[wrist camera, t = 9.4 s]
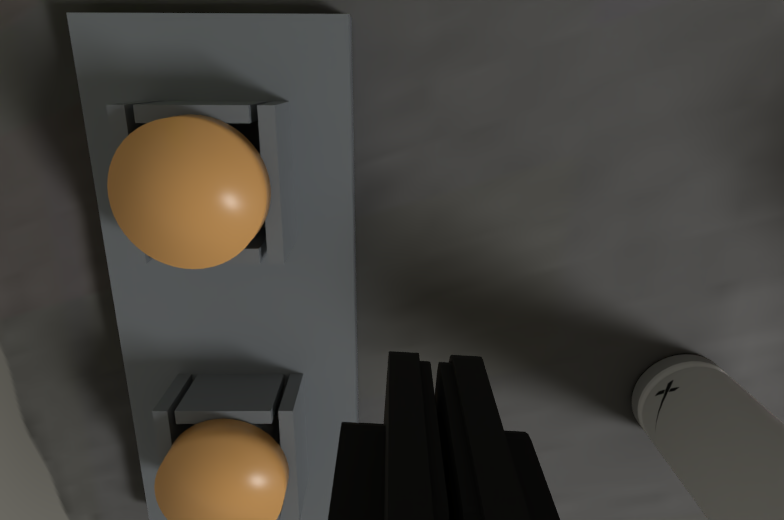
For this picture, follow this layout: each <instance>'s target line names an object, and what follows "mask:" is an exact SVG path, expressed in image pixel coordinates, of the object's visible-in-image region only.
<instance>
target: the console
mask: <svg viewBox="0 0 784 520" xmlns="http://www.w3.org/2000/svg"><path fill="white" fill-rule="evenodd" d="M66 14H67V20H68V26H69V32H70V38H71V44H72V50H73V56H74V63H75V69H76V75H77V81H78V87H79V93H80V99H81V105H82V111H83V118H84V124H85V130H86V136H87V142H88V148H89V154H90V160H91V166H92V173H93V179H94V185H95V191H96V197H97V203H98V209H99V215H100V221H101V228H102V234H103V240H104V246H105V252H106V258H107V264H108V270H109V276H110V283H111V289H112V295H113V301H114V307H115V313H116V319H117V325H118V332H119V338H120V344H121V350H122V356H123V362H124V368H125V374H126V380H127V387H128V393H129V399H130V405H131V411H132V417H133V423H134V429H135V435H136V442H137V448H138V454H139V460H140V466H141V472H142V478H143V484H144V490H145V497H146V503H147V509H148V515H149V520H167V518H166V517H165V516H164V514H163V513H162V511H161V510H160V508H159V506H158V503H157V501H156V496H155V489H154V485H155V478H156V474H157V471H158V469H159V467H160V465H161V463H162V462H163V460H164V458H165V456H166V455H167V453H168V451H169V450H170V448H171V446H172V445H173V443H174V441H175V440H176V439H177V438H178V436H179V435H180V434H181V433H183V432H184V431H185V430H186V429H188V428H190V427H191V426H193V425H195V424H198V423H200V422H203V421H207V420H212V419H234V420H240V421H243V422H247V423H249V424H272V421H273V418H274V415H275V414H276V416H277V418H278V420H279V430H280V437H279V440H278V444H279V446H280V447H281V449H282V450H283V452H284V454H285V456H286V459H287V462H288V467H289V479H288V485H287V489H286V493H285V497H284V501H283V505H282V509H281V512H280V514H279V516H278V518H277V519H276V520H328V515H329V507H330V500H331V493H332V486H333V479H334V472H335V465H336V458H337V450H338V443H339V436H340V429H341V423H342V422H355V423H359V420H358V362H357V304H356V246H355V188H354V130H353V72H352V18H351V16H350V14H258V13H66ZM187 114H194V115H203V116H208V117H212V118H215V119H218V120H221V121H223V122H225V123H227V124H229V125H231V126H232V127H234V128H235V129H237V130H238V131H239V132H241V133H242V134H243V135H244V136H245V137H246V138H247V139H248V140H249V141H250V142H251V143H252V144H253V145H254V147H255V148H256V149H257V151H258V152H259V154H260V156H261V158H262V159H263V161H264V164H265V166H266V169H267V172H268V175H269V179H270V186H271V200H270V207H269V211H268V214H267V217H266V219H265V222H264V224H263V225H262V227H261V229H260V230H259V232H258V233H257V234H256V235H255V237H254V238H253V239H252V240H251V241H250V243H249V244H248V245H247V246H246V247H245V249H243V250H242V251H241V252H240V253H239V254H238V255H237V256H235V257H234V258H232V259H231V260H229V261H227V262H225V263H223V264H220V265H217V266H214V267H209V268H204V269H183V268H178V267H173V266H170V265H167V264H164V263H162V262H159V261H157V260H155V259H153V258H152V257H150V256H148V255H146V254H145V253H144V252H142V251H141V250H140V249H138V248H137V247H136V246H135V245H134V244H133V243H132V242H131V241H130V240H129V239H128V237H127V236H126V235H125V234H124V233H123V231H122V230H121V228H120V227H119V225H118V223H117V221H116V219H115V217H114V215H113V212H112V209H111V207H110V202H109V198H108V189H107V181H108V172H109V167H110V164H111V161H112V158H113V156H114V154H115V152H116V150H117V148H118V147H119V146H120V144H121V143H122V141H123V140H124V139H125V138H126V137H127V136H128V135H129V134H130V133H132V132H133V131H134V130H136V129H137V128H139V127H141V126H142V125H144V124H146V123H149V122H152V121H154V120H158V119H163V118H168V117H173V116H178V115H187Z"/></svg>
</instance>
